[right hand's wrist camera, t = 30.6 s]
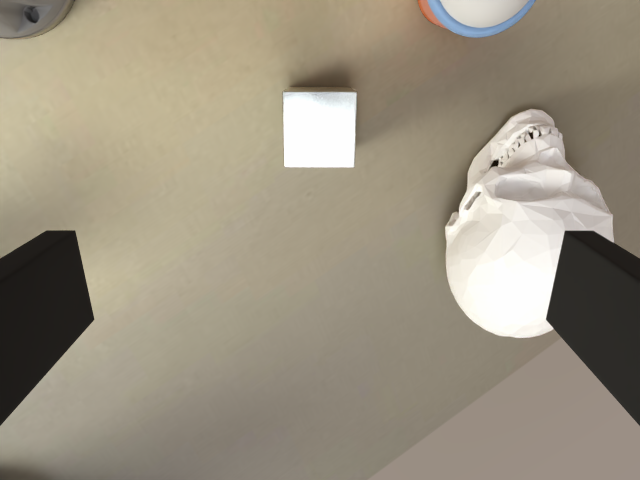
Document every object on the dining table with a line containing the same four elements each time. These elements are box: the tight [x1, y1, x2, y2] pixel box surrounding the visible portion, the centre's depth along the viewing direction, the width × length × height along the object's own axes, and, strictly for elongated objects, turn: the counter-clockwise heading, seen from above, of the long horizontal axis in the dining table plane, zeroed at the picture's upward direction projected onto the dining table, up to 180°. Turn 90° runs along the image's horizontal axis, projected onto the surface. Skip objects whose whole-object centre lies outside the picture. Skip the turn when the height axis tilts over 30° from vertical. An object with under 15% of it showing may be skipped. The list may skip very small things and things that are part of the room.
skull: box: [445, 109, 614, 338], centre depth 43 cm, size 13×22×16 cm, turn 176°
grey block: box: [282, 87, 357, 168], centre depth 43 cm, size 6×7×8 cm
